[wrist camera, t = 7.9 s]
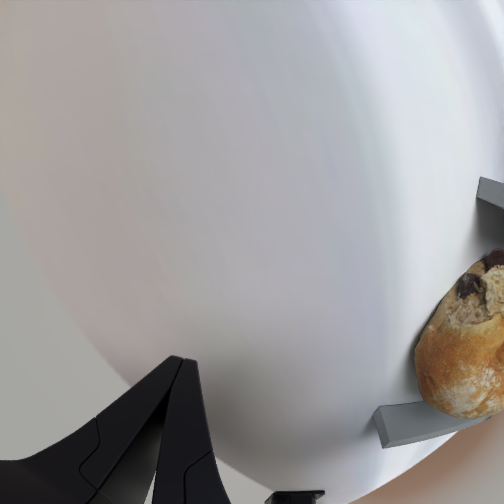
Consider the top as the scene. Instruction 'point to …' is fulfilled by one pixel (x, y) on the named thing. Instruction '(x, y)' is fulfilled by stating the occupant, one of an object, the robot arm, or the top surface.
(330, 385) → the top surface
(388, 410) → the grey u-shaped frame
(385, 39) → the top surface
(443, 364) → the bread roll
